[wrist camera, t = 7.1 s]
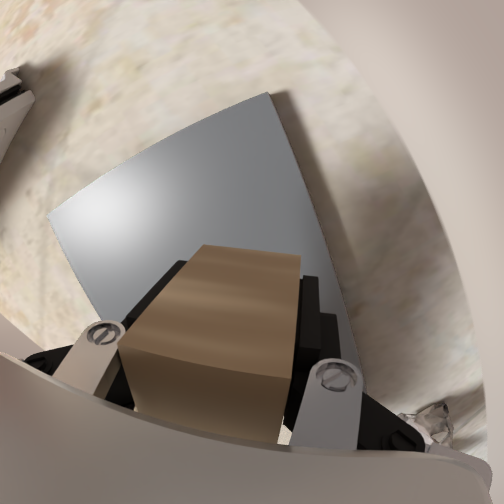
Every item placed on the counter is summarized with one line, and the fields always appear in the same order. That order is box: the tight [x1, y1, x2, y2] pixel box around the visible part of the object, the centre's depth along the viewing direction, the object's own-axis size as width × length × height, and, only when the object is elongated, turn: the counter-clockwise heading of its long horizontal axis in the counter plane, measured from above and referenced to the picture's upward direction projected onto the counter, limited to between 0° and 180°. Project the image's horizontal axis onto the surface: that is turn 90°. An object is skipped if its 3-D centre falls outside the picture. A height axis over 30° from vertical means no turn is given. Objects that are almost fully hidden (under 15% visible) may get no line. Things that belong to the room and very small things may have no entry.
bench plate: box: [47, 92, 367, 394], centre depth 20 cm, size 22×18×1 cm
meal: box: [398, 403, 454, 449], centre depth 18 cm, size 15×4×13 cm, turn 138°
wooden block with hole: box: [117, 244, 301, 444], centre depth 12 cm, size 19×6×6 cm, turn 177°
